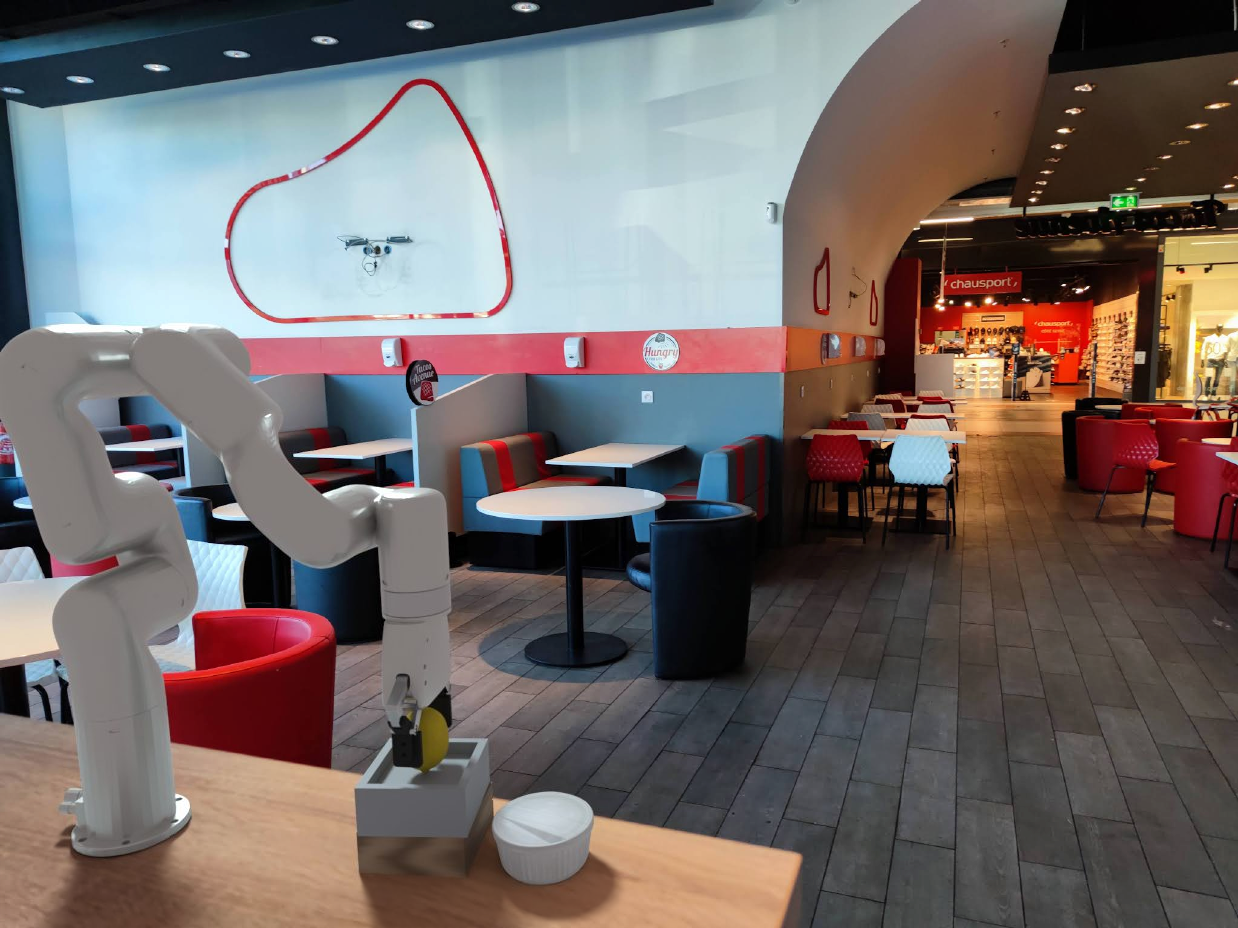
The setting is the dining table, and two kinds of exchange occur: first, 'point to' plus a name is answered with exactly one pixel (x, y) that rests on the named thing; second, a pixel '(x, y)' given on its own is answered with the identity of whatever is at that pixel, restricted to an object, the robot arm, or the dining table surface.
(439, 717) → the lemon
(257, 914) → the dining table surface
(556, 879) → the ramekin
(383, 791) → the tower top block
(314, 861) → the dining table surface
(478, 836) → the tower bottom block
